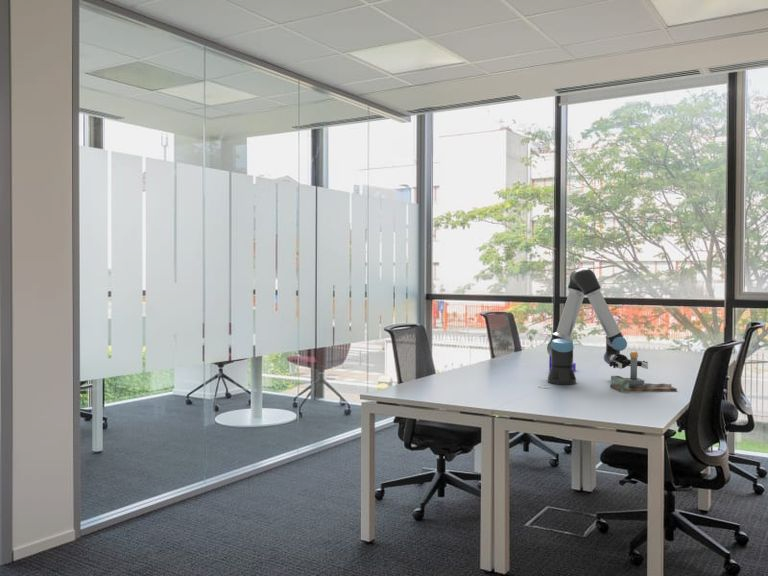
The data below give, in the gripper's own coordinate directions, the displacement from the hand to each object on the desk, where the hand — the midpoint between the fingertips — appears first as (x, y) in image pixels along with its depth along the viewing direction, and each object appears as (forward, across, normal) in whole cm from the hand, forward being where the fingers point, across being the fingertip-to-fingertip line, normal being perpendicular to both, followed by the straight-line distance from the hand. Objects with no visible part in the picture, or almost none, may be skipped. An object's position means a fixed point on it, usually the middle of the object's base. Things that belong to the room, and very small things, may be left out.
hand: (634, 366), depth 354 cm
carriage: (0, 0, -10) cm, 10 cm away
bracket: (-64, +17, -12) cm, 67 cm away
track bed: (0, -5, -12) cm, 13 cm away
